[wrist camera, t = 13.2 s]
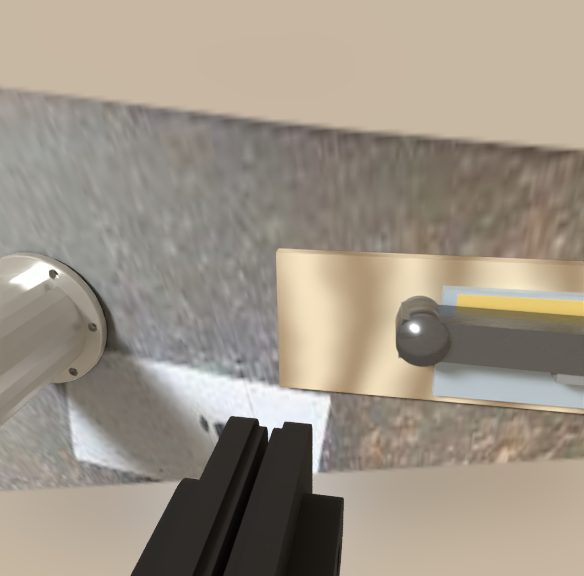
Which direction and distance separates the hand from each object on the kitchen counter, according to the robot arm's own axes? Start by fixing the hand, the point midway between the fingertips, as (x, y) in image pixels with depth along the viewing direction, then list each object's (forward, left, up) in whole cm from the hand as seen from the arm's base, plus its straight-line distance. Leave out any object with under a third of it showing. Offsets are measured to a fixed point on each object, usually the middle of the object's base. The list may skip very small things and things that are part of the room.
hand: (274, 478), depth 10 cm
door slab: (+12, -11, -28) cm, 33 cm away
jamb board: (+6, -10, -29) cm, 32 cm away
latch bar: (+10, -9, -27) cm, 30 cm away
